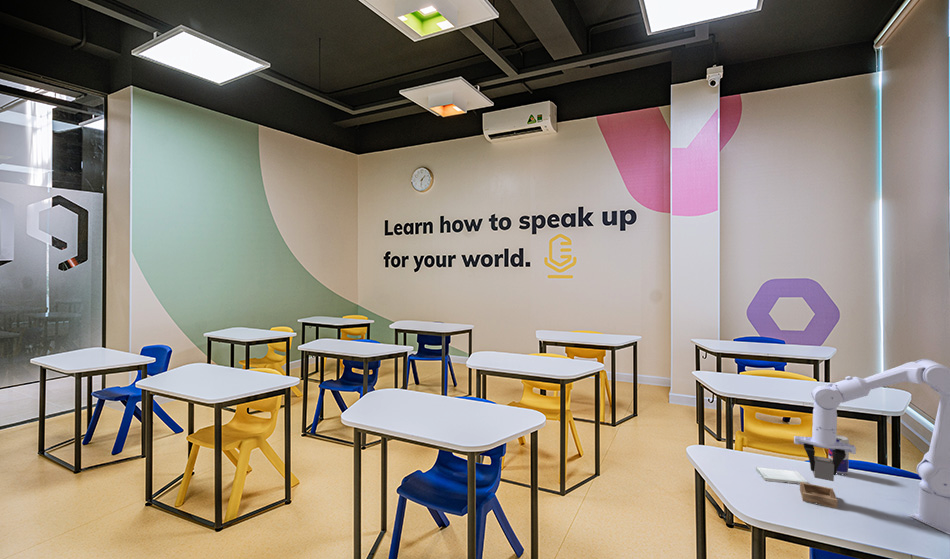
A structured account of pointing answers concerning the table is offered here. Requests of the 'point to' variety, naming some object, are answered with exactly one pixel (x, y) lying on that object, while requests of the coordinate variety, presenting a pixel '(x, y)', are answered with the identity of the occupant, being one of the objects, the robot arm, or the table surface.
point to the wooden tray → (818, 495)
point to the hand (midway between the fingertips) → (822, 471)
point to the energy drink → (844, 464)
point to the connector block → (823, 468)
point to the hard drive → (780, 475)
